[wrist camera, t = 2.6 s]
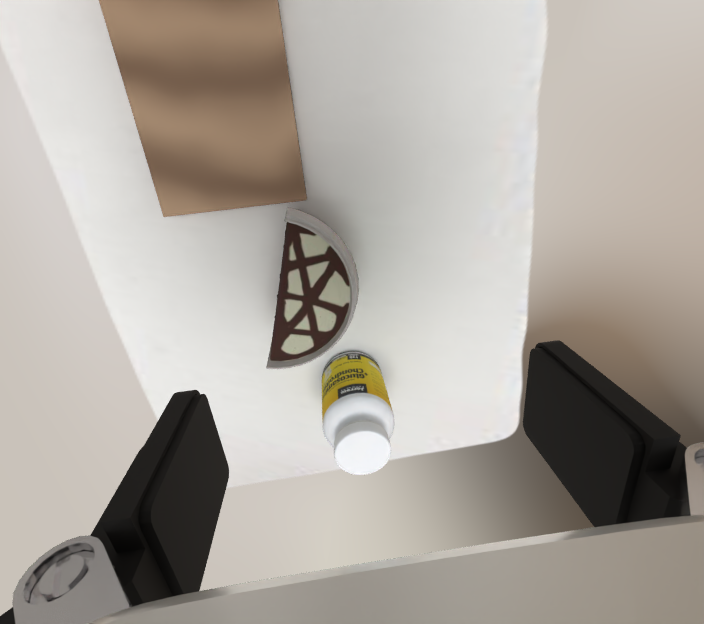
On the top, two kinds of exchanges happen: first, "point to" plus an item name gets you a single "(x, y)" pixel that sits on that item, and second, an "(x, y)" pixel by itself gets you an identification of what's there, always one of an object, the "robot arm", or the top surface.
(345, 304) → the food container
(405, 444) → the top surface
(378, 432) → the pill bottle
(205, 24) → the walnut board
